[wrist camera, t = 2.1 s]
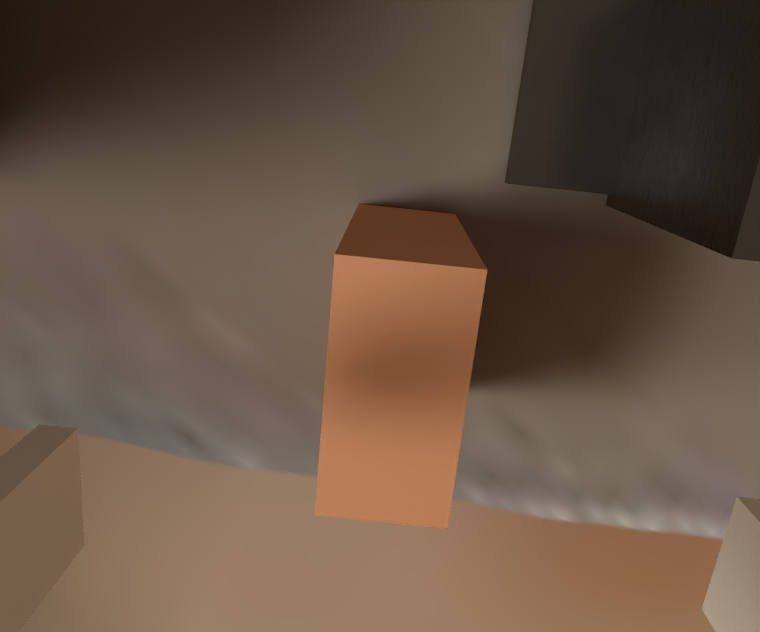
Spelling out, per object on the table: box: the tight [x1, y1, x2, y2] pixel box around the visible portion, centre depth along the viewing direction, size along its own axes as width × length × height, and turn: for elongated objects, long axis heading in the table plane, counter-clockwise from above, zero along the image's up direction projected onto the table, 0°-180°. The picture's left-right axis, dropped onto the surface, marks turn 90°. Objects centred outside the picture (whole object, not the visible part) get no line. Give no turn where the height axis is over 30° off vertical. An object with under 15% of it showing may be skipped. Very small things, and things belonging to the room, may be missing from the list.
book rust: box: [315, 204, 487, 529], centre depth 22 cm, size 4×8×10 cm, turn 175°
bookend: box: [505, 0, 760, 261], centre depth 19 cm, size 5×8×10 cm, turn 174°
